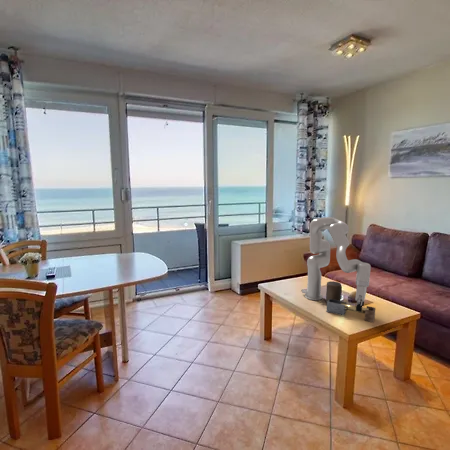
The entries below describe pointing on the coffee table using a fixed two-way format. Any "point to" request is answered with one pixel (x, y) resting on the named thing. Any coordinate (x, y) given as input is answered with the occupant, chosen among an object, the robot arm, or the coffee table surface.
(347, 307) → the tube
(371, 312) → the socket
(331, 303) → the grey rectangular block
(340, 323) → the coffee table surface
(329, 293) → the pillar candle
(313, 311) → the coffee table surface
